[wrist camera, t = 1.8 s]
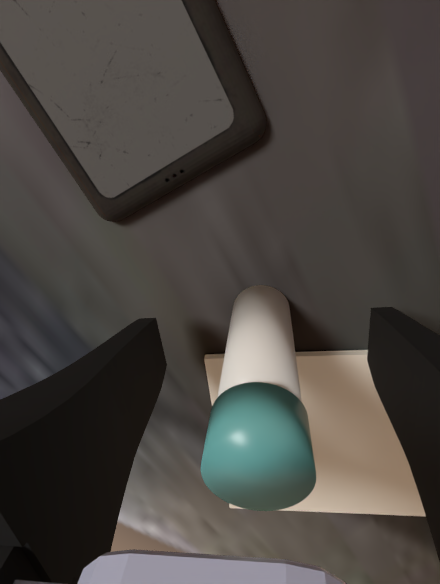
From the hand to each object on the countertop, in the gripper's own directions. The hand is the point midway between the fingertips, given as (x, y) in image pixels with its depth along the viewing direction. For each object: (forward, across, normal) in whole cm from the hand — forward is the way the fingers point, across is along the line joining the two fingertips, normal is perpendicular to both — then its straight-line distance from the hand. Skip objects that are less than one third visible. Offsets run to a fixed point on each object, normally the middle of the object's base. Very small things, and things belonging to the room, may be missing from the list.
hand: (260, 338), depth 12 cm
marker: (+2, 0, 0) cm, 2 cm away
